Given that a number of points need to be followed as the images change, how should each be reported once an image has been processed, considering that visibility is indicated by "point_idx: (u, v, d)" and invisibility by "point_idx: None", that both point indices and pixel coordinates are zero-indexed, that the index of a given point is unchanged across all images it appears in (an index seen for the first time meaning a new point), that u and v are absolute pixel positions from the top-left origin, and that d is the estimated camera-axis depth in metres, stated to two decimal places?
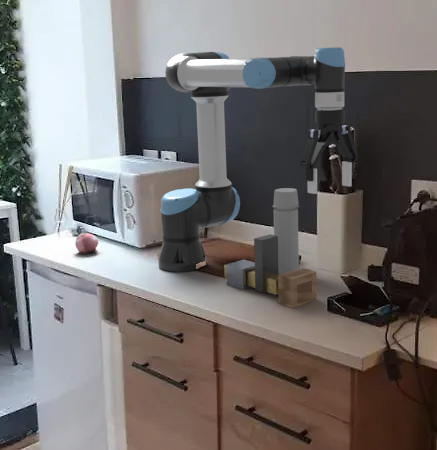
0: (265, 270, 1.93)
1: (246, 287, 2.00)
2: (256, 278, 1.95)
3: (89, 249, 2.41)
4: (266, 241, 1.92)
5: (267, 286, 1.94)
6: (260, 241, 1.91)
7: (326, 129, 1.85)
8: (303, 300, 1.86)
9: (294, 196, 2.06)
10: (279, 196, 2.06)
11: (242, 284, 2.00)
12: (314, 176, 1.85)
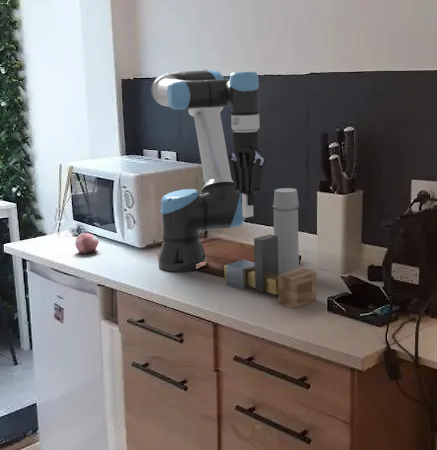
0: (265, 270, 1.93)
1: (246, 287, 2.00)
2: (256, 278, 1.95)
3: (89, 249, 2.41)
4: (266, 241, 1.92)
5: (267, 286, 1.94)
6: (260, 241, 1.91)
7: (235, 148, 1.95)
8: (303, 300, 1.86)
9: (294, 196, 2.06)
10: (279, 196, 2.06)
11: (242, 284, 2.00)
12: None
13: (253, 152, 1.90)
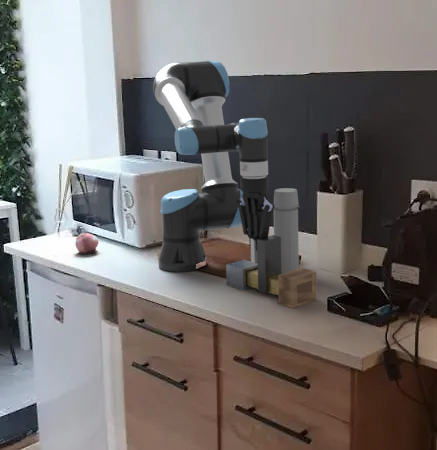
0: (268, 271, 1.93)
1: (246, 287, 2.00)
2: (259, 279, 1.94)
3: (89, 249, 2.41)
4: (269, 242, 1.91)
5: (270, 287, 1.93)
6: (263, 242, 1.90)
7: (243, 193, 1.96)
8: (303, 300, 1.86)
9: (294, 196, 2.06)
10: (279, 196, 2.06)
11: (242, 284, 2.00)
12: None
13: (262, 198, 1.91)
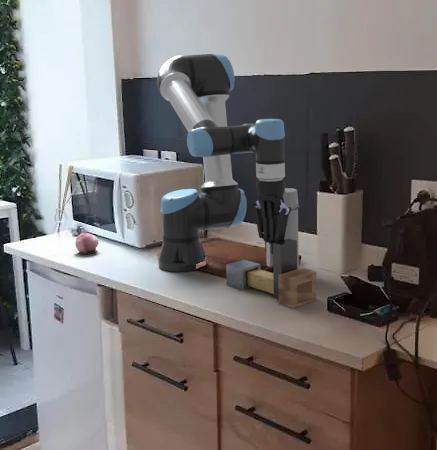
0: None
1: (246, 287, 2.00)
2: (275, 284, 1.90)
3: (89, 249, 2.41)
4: (285, 246, 1.87)
5: None
6: (279, 246, 1.86)
7: (259, 196, 1.91)
8: (303, 300, 1.86)
9: (294, 196, 2.06)
10: None
11: (242, 284, 2.00)
12: None
13: (278, 201, 1.86)
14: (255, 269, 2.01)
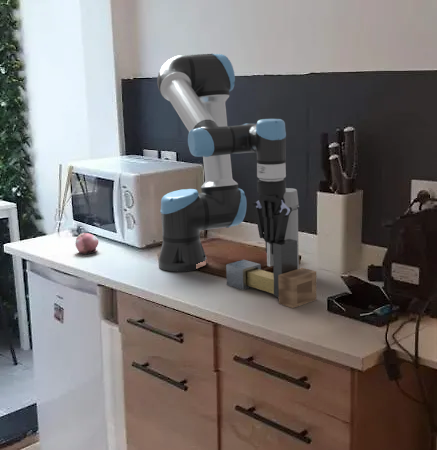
0: None
1: (246, 287, 2.00)
2: (275, 284, 1.90)
3: (89, 249, 2.41)
4: (285, 246, 1.86)
5: None
6: (279, 246, 1.86)
7: (260, 196, 1.91)
8: (303, 300, 1.86)
9: (294, 196, 2.06)
10: None
11: (242, 284, 2.00)
12: None
13: (279, 202, 1.86)
14: (255, 269, 2.01)
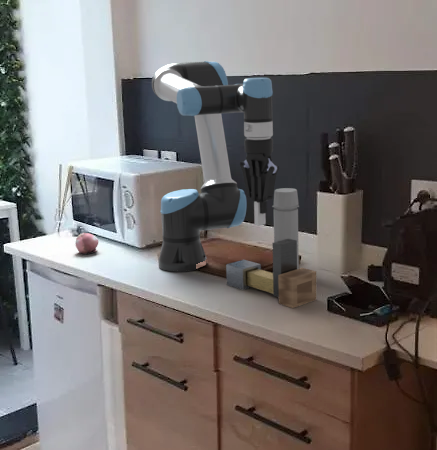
0: None
1: (246, 287, 2.00)
2: (274, 284, 1.90)
3: (89, 249, 2.41)
4: (285, 246, 1.87)
5: None
6: (279, 246, 1.86)
7: (247, 155, 1.92)
8: (303, 300, 1.86)
9: (294, 196, 2.06)
10: (279, 196, 2.06)
11: (242, 284, 2.00)
12: None
13: (266, 160, 1.87)
14: (254, 269, 2.01)
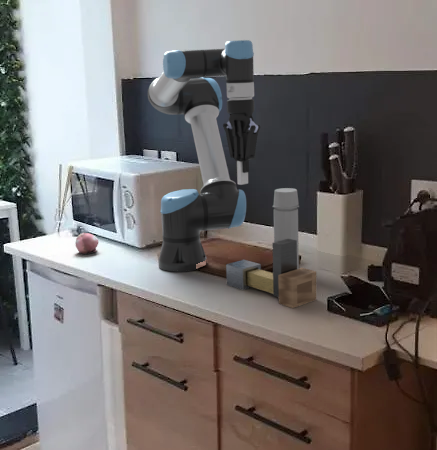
0: None
1: (246, 287, 2.00)
2: (274, 284, 1.90)
3: (89, 249, 2.41)
4: (285, 246, 1.87)
5: None
6: (279, 246, 1.86)
7: (230, 116, 1.99)
8: (303, 300, 1.86)
9: (294, 196, 2.06)
10: (279, 196, 2.06)
11: (242, 284, 2.00)
12: None
13: (248, 119, 1.94)
14: (254, 269, 2.01)
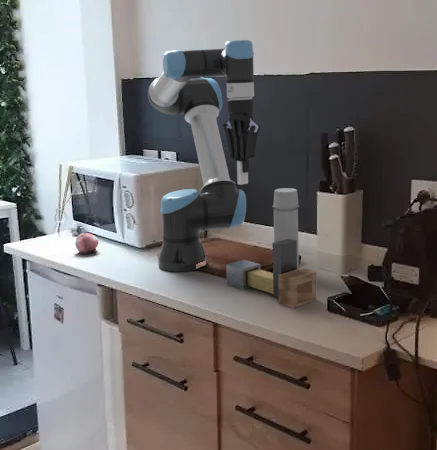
0: None
1: (246, 287, 2.00)
2: (274, 284, 1.90)
3: (89, 249, 2.41)
4: (285, 246, 1.87)
5: None
6: (279, 246, 1.86)
7: (230, 116, 1.99)
8: (303, 300, 1.86)
9: (294, 196, 2.06)
10: (279, 196, 2.06)
11: (242, 284, 2.00)
12: None
13: (248, 119, 1.94)
14: (254, 269, 2.01)
